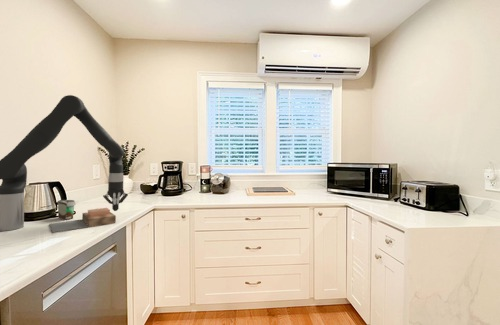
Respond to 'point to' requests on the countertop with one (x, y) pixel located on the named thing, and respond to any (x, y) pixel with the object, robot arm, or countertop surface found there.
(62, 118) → the robot arm
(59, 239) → the countertop surface
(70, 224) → the mat
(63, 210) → the food container
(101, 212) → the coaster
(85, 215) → the board
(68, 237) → the countertop surface
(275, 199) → the countertop surface
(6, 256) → the countertop surface
